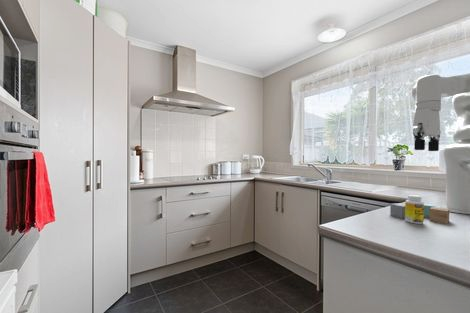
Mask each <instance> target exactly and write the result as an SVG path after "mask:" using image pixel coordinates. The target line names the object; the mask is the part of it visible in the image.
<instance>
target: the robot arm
mask: <svg viewBox="0 0 470 313" xmlns="http://www.w3.org/2000/svg"><path fill="white" fill-rule="evenodd" d="M411 97H412V99H413V100H414V101H415V112H414V116H413V117H414V118H413V124H412V134H413V140H414V150H415V151H425V149H426V139H425V137H428V139H429V141H428V152H438V151H439V150H440V146H439V145H440V138H441V133H442V131H441V120H440V119H441V116H440V111H441V109H442V98H447V97H453V98H452V106H453V110H454V112H455V114H456V117H457V122H456V126H455V129H454V132H453V141H454V142H455V143H452V144H449V145H447V146H446V147H445V148H443V149H444V150H443V157H444V162H445V173H446V174H445V205H441V207H440V208H445V209H449V213H457V214H463V215H470V166H469V165H470V73H469V72H468V73H465V74H460V75H453V76H452V75H451V76H447V77H446V76H441V75H439V74H428V75H424V76H421V77H419V78H418V79H417V80H416V84H415V85H414V86H413V88H412V89H411Z"/></svg>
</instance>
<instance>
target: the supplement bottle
mask: <svg viewBox="0 0 470 313" xmlns="http://www.w3.org/2000/svg"><path fill="white" fill-rule="evenodd" d="M404 204H405V218H404V220H405V221H406V222H407V223H410V224H417V225H421V224H424V218H425V217H424V204H425V202H424V201H422V196H421V195H417V194H408V196H407V199H405V203H404Z"/></svg>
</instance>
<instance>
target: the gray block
mask: <svg viewBox="0 0 470 313" xmlns="http://www.w3.org/2000/svg"><path fill="white" fill-rule="evenodd" d="M389 207H390V209H389V210H390V214H389V215H390V216H392V215H393V217H395V216H396V217H395V218H399V219H405V203H401V202H399V203H397V202H395V203H390V206H389Z"/></svg>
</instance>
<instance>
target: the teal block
mask: <svg viewBox="0 0 470 313" xmlns="http://www.w3.org/2000/svg"><path fill="white" fill-rule="evenodd" d="M431 207H437V206H435V204H433V203H424V218H426V219H427V218H428V219H430V208H431Z"/></svg>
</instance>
